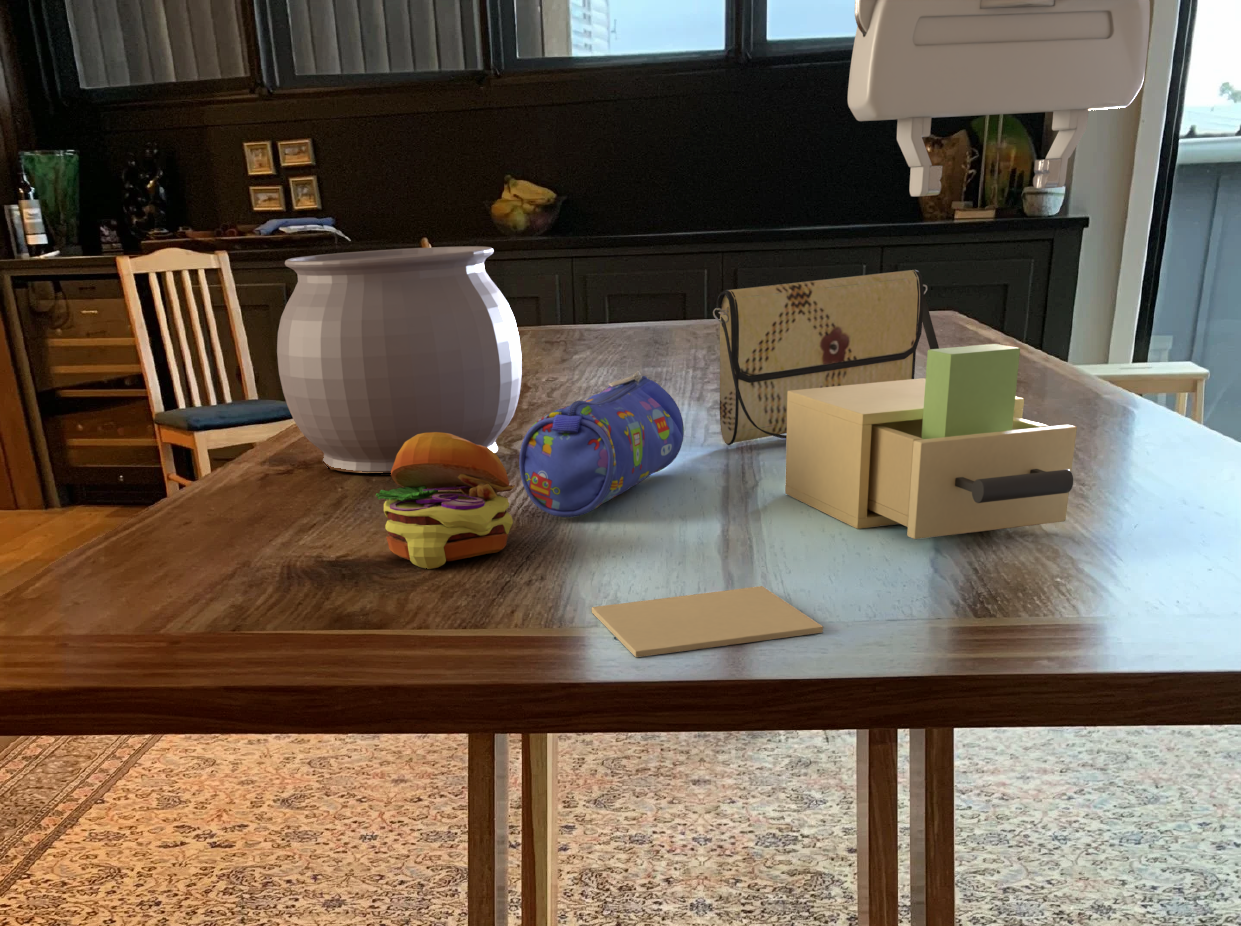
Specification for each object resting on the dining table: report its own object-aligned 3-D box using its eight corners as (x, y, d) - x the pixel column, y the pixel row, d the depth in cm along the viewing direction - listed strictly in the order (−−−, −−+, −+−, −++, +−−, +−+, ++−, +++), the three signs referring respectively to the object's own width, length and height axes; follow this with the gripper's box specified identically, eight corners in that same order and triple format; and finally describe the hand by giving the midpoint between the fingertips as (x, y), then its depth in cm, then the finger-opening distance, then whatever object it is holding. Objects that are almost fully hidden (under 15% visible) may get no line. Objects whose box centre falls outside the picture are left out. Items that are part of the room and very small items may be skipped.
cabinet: (1012, 511, 105) (1024, 398, 101) (857, 529, 103) (862, 414, 99) (925, 478, 118) (933, 377, 114) (784, 493, 115) (787, 390, 111)
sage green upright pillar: (981, 494, 102) (995, 343, 97) (1004, 503, 99) (1020, 348, 94) (916, 502, 101) (927, 349, 96) (938, 511, 98) (951, 354, 93)
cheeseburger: (359, 569, 99) (353, 429, 96) (413, 567, 109) (410, 440, 106) (485, 569, 96) (483, 426, 94) (530, 567, 106) (528, 438, 104)
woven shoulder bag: (748, 455, 132) (749, 292, 125) (705, 446, 137) (704, 290, 130) (955, 416, 146) (967, 268, 139) (908, 410, 151) (918, 267, 144)
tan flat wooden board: (762, 591, 89) (762, 585, 89) (823, 632, 80) (823, 626, 80) (591, 612, 86) (591, 606, 86) (635, 657, 78) (635, 651, 78)
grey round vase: (499, 481, 126) (481, 254, 117) (255, 485, 131) (220, 267, 122) (548, 435, 148) (536, 241, 139) (338, 440, 152) (313, 252, 143)
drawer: (1100, 534, 94) (1113, 435, 91) (943, 553, 92) (951, 452, 89) (973, 488, 110) (981, 402, 106) (836, 503, 107) (839, 416, 104)
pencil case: (605, 470, 129) (602, 366, 124) (690, 472, 126) (689, 366, 121) (517, 522, 111) (509, 403, 106) (613, 526, 108) (608, 403, 103)
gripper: (880, -58, 79) (868, 200, 85) (1177, -64, 83) (1144, 183, 89) (836, -41, 84) (828, 201, 91) (1117, -47, 88) (1089, 184, 95)
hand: (987, 192), depth 90 cm, fingers open, 8 cm apart
